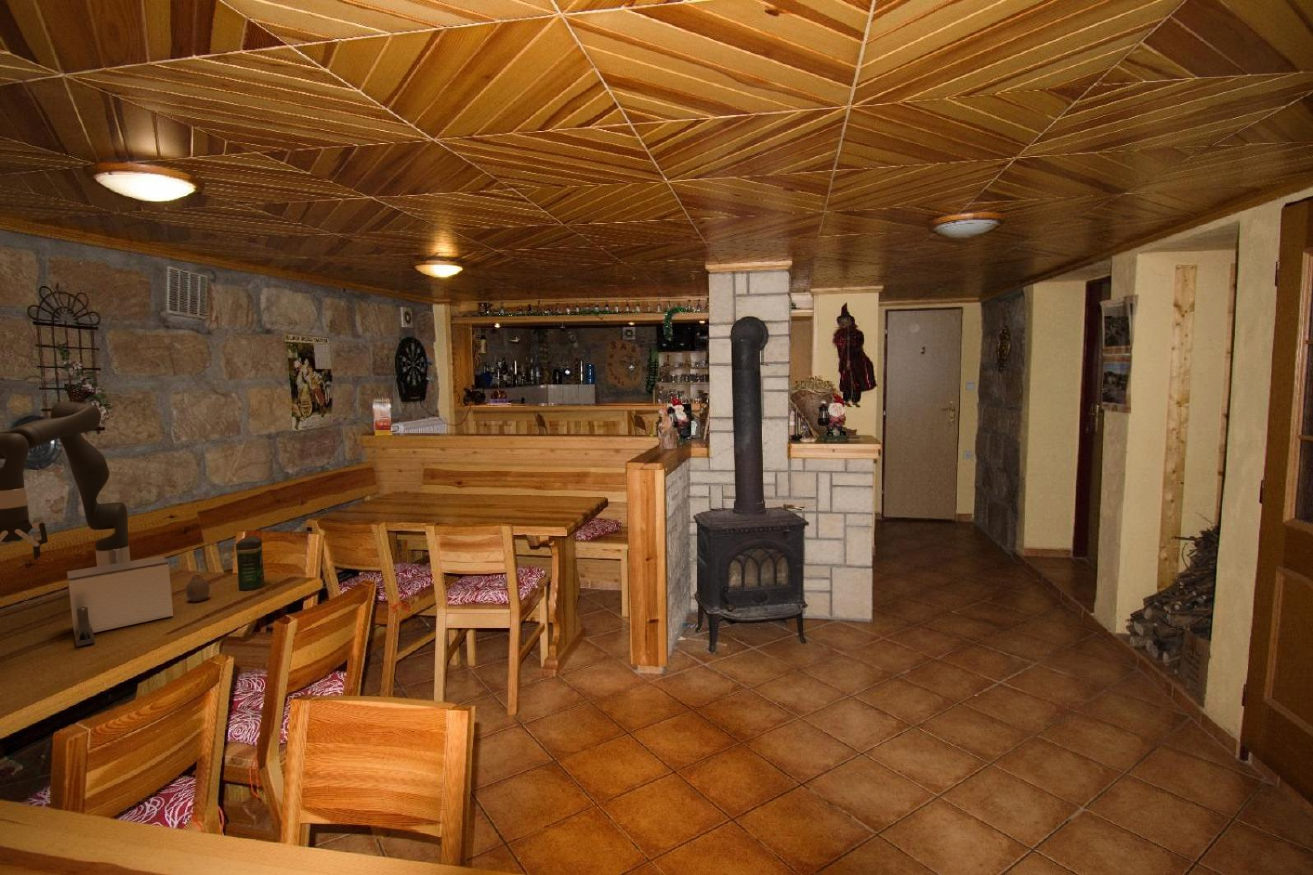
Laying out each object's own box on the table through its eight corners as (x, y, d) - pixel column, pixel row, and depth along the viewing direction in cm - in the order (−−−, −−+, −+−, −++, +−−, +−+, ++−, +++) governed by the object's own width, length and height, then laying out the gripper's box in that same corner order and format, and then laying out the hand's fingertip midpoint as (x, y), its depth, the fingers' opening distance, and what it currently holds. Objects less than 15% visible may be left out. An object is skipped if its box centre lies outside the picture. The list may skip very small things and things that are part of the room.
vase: (192, 604, 225) (190, 579, 224) (182, 601, 228) (180, 576, 227) (214, 598, 231) (212, 574, 230) (204, 595, 234) (202, 571, 233)
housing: (73, 627, 205) (67, 571, 203) (167, 607, 222) (163, 555, 220) (74, 636, 198) (68, 578, 196) (172, 615, 215) (167, 561, 213)
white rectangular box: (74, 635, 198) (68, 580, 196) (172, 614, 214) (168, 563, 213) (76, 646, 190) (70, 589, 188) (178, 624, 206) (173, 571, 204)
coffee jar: (261, 589, 240) (258, 539, 238) (236, 592, 237) (232, 541, 235) (267, 581, 249) (263, 533, 247) (242, 584, 246) (239, 535, 245)
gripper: (43, 499, 190) (49, 554, 191) (-28, 507, 180) (-21, 565, 181) (44, 503, 184) (49, 559, 186) (-29, 510, 175) (-23, 570, 176)
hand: (14, 562), depth 184 cm, fingers open, 8 cm apart
